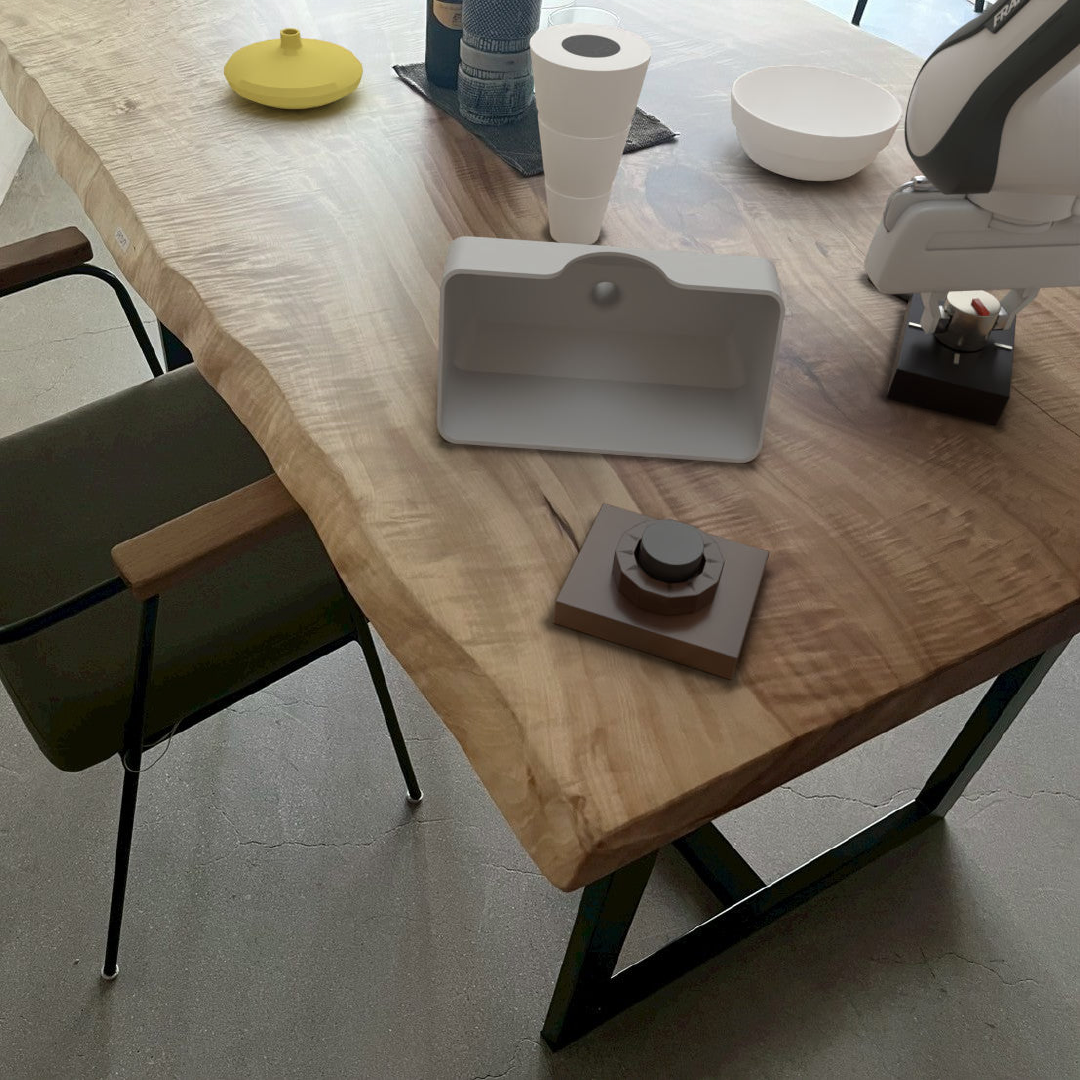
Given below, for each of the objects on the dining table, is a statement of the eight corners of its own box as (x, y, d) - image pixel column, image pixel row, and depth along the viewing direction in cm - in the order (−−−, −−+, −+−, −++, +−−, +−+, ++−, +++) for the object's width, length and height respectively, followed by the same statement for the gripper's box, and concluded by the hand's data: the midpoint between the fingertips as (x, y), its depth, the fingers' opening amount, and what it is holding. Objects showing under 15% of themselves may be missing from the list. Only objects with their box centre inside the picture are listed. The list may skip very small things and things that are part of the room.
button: (706, 549, 69) (710, 530, 68) (691, 591, 66) (695, 572, 65) (648, 532, 70) (651, 513, 68) (630, 572, 67) (634, 553, 66)
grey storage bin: (740, 344, 92) (770, 213, 83) (759, 464, 81) (796, 327, 72) (456, 324, 92) (456, 190, 83) (436, 442, 80) (433, 302, 72)
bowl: (872, 135, 124) (890, 73, 118) (893, 211, 111) (915, 144, 106) (717, 120, 124) (729, 57, 119) (721, 193, 111) (734, 127, 106)
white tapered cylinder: (649, 235, 104) (676, 49, 91) (580, 275, 98) (598, 81, 86) (569, 196, 109) (584, 14, 96) (498, 231, 103) (504, 42, 90)
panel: (904, 312, 97) (915, 282, 95) (1004, 336, 95) (1017, 306, 93) (886, 397, 88) (897, 367, 85) (996, 425, 86) (1010, 395, 84)
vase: (238, 65, 127) (228, 3, 122) (368, 70, 129) (364, 9, 124) (217, 122, 116) (206, 57, 111) (360, 126, 118) (356, 62, 113)
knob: (925, 322, 90) (939, 284, 88) (972, 320, 91) (988, 282, 88) (946, 352, 87) (961, 313, 85) (995, 350, 88) (1012, 312, 85)
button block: (763, 572, 73) (776, 532, 70) (731, 680, 66) (743, 640, 63) (599, 524, 75) (605, 483, 72) (552, 623, 68) (556, 582, 66)
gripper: (912, 197, 75) (860, 356, 85) (1170, 190, 78) (1091, 344, 88) (879, 156, 79) (834, 312, 89) (1125, 151, 82) (1055, 302, 92)
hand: (963, 328), depth 89 cm, fingers closed on knob, 4 cm apart
